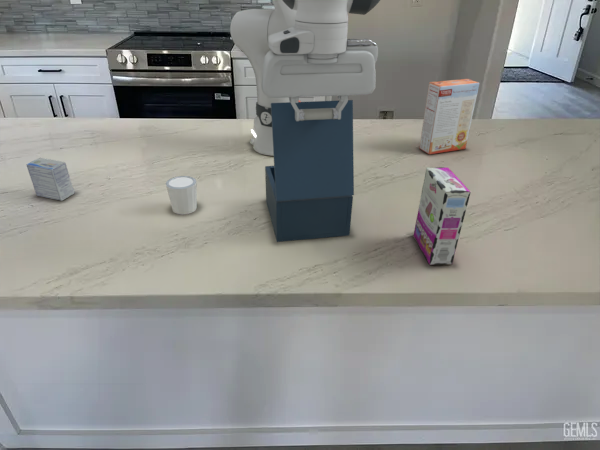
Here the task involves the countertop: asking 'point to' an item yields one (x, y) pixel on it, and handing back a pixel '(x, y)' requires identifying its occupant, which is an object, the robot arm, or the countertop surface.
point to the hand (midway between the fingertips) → (317, 119)
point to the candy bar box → (440, 215)
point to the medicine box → (50, 178)
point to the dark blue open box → (307, 214)
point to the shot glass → (182, 194)
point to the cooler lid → (312, 151)
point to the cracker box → (448, 115)
